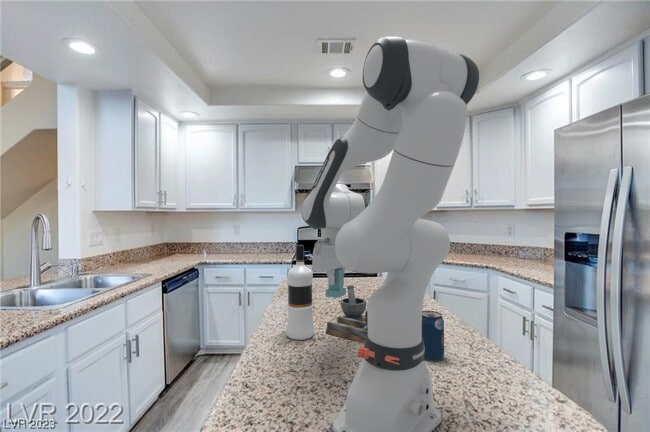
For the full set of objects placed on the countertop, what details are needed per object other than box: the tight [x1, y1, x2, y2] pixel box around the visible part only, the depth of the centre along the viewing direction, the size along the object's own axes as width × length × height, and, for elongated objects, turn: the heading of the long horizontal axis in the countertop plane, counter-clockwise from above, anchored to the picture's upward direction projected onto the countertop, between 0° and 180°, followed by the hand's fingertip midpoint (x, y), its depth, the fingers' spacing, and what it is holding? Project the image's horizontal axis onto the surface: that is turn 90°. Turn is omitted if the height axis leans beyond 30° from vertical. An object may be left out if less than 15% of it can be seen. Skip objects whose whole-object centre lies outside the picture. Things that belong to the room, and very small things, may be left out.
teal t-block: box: [325, 269, 347, 299], centre depth 94 cm, size 5×4×8 cm
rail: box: [325, 310, 368, 344], centre depth 103 cm, size 18×9×10 cm, turn 56°
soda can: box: [422, 310, 445, 362], centre depth 87 cm, size 7×7×12 cm
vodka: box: [285, 244, 315, 341], centre depth 103 cm, size 9×9×30 cm
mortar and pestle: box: [340, 284, 367, 321], centre depth 120 cm, size 11×9×12 cm
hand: (336, 283), depth 94 cm, fingers closed on teal t-block, 3 cm apart
